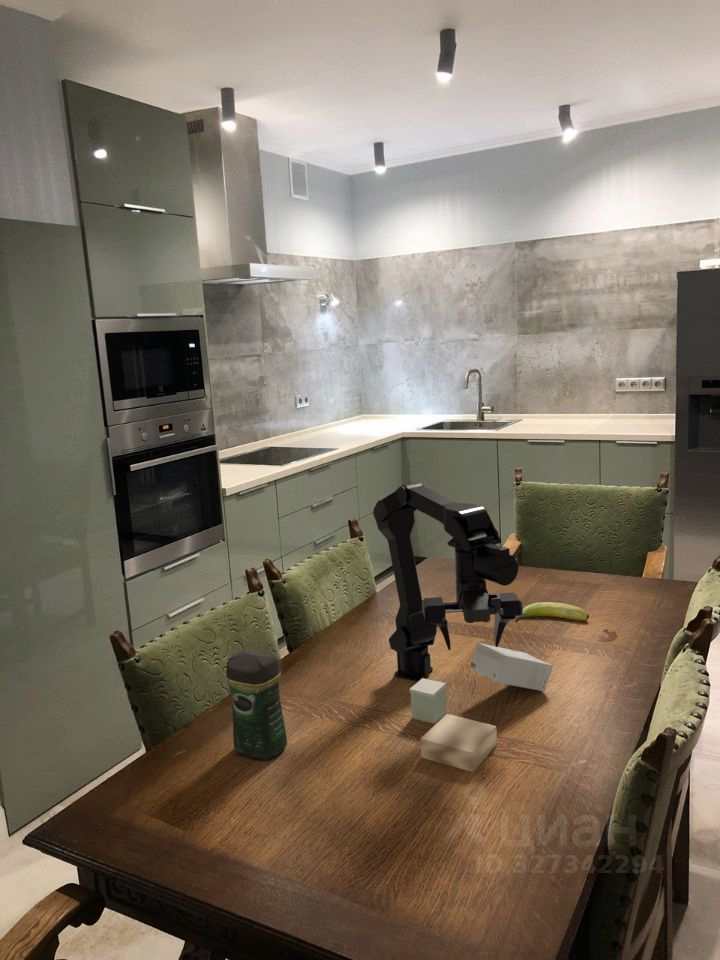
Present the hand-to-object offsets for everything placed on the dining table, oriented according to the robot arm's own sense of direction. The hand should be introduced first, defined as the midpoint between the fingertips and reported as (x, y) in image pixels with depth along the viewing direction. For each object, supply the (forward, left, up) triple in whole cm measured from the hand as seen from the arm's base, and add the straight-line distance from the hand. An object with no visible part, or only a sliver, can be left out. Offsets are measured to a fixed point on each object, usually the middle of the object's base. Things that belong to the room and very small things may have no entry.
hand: (472, 647), depth 152 cm
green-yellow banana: (-3, +51, -14) cm, 53 cm away
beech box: (+4, -16, -13) cm, 21 cm away
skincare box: (+7, +15, -10) cm, 20 cm away
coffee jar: (-29, -32, -13) cm, 45 cm away
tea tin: (-7, -7, -13) cm, 16 cm away
